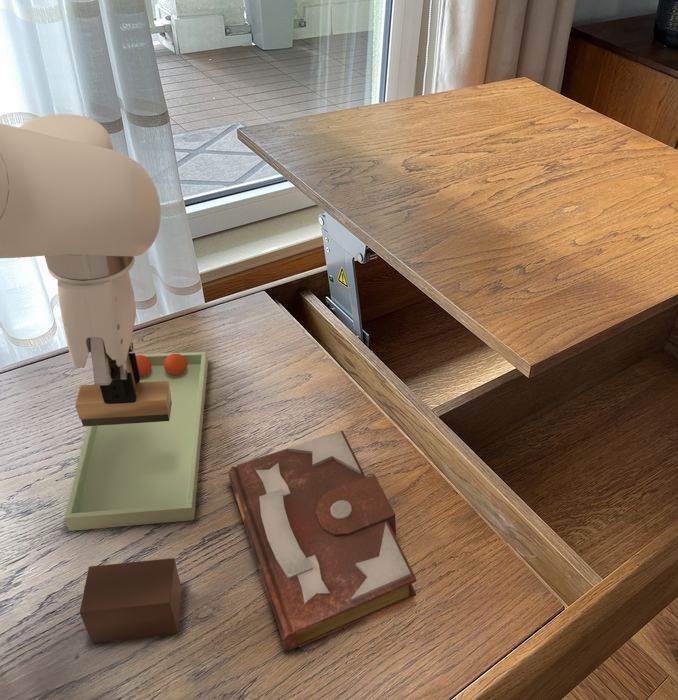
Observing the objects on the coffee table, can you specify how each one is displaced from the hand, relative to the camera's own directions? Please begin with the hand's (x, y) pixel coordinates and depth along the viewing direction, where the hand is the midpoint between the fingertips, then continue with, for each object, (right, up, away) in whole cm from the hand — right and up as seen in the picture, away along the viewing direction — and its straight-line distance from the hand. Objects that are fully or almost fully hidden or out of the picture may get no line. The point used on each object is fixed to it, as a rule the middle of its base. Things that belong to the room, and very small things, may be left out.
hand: (122, 390), depth 79 cm
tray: (-3, -7, +12) cm, 14 cm away
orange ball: (-7, +2, +19) cm, 20 cm away
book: (+21, -18, +4) cm, 28 cm away
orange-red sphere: (-2, +3, +20) cm, 20 cm away
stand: (+4, -23, -6) cm, 24 cm away
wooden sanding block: (0, -3, +2) cm, 4 cm away
